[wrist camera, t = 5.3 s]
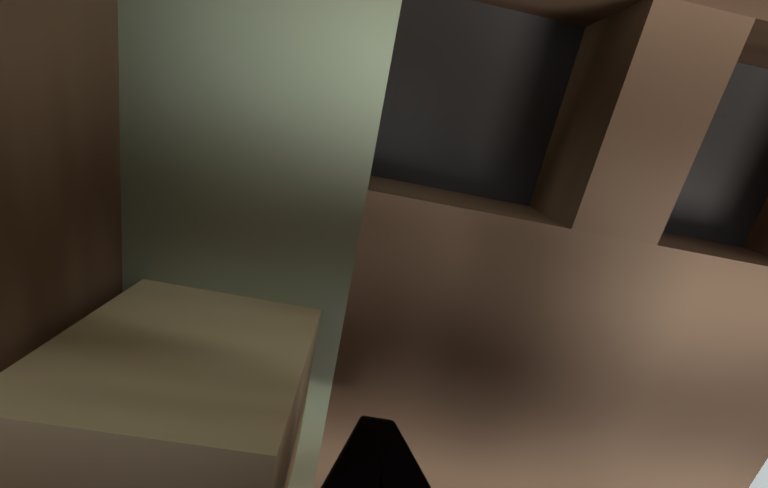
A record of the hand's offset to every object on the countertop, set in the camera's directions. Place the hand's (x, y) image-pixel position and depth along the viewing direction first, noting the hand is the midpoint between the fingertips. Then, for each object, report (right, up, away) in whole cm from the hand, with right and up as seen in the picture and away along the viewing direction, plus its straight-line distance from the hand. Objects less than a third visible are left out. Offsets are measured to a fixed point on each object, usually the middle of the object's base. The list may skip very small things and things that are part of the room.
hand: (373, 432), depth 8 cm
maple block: (-4, +1, +1) cm, 4 cm away
